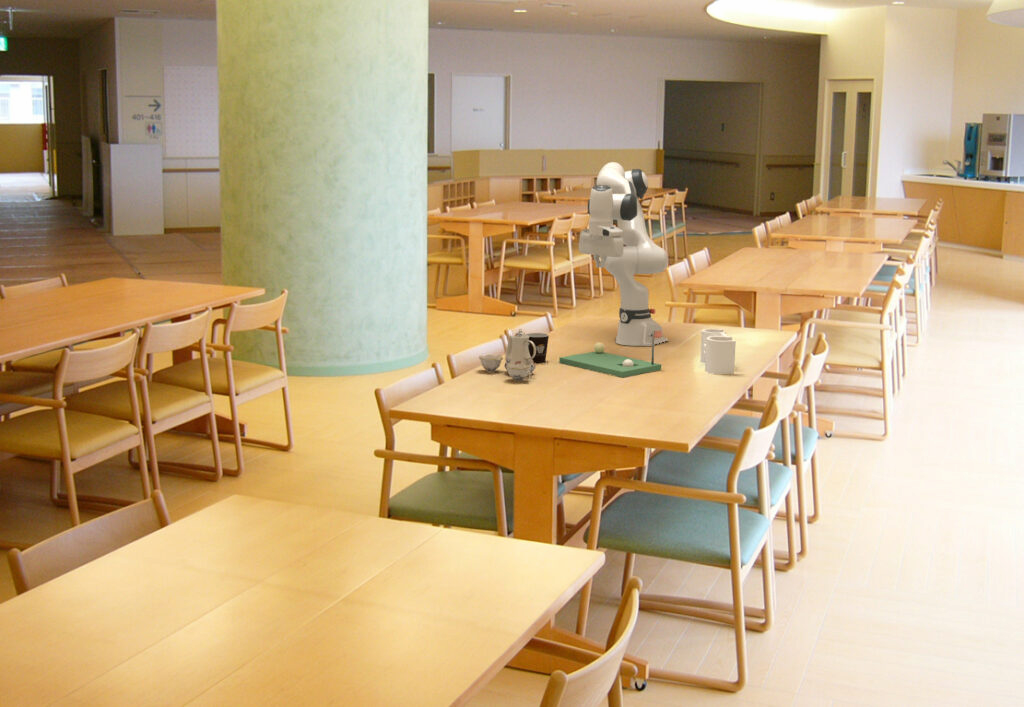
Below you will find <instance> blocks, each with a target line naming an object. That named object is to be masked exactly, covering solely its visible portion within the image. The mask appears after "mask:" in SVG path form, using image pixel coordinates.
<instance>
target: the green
mask: <svg viewBox="0 0 1024 707" xmlns="http://www.w3.org/2000/svg"><path fill="white" fill-rule="evenodd" d="M626 359H630V360H632V361H633V363H634V366H633V367H624V366H622V364H623V362H624V361H625V360H626ZM558 361H559V364H563V365H567V366H571V367H575V368H576V367H577V368H579V367H580V369H585V370H588V369H589V370H588V371H592V370H593V371H594V372H596V371H597V373H601V372H602V374H605V373H607V374H606V375H609V374H611V376H614V375H615V376H614V377H618V376H619V378H626V377H627V376H628V377H632V375H633V376H637V375H643V374H647V372H648V373H653V372H657V370H658V371H662V364H661V363H656V362H654V365H651V361H647V360H642V359H637V358H635V357H634V358H632V357H628V356H623V355H618V354H613V353H609V352H606V351H603V352H602V353H597V352H595V351H589V352H583V353H578V354H572V355H567V356H561V357H559V360H558ZM593 371H592V372H593ZM652 371H653V372H652ZM642 373H643V374H642Z"/></svg>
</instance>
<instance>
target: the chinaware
mask: <svg viewBox="0 0 1024 707" xmlns="http://www.w3.org/2000/svg"><path fill="white" fill-rule="evenodd" d="M507 336H508V337H507V338H508V341H507V345H506V349H505V353H504V356H505V357H503V355H493V354H486V355H480V356H479V357H478V359H479V360H480V363H481V366H482V368H483V369H484V370H486V371H485V372H487V373H495V372H497V371H496V370H498V368H499V367H500V366H501V363H502V360H503V359H505V363H504V369H505V370H506V371H507V372H508V373H507V375H508V376H510V378H511V379H513V382H518V383H520V382H525V381H526V380H529V379H531V376H532V375H533V371H535V369H536V368H537V365H536V363H534V362H533V360H532V358H534V356H535V354H536V347H535V344H534V343H533V342H532V341H529V336H528V335H526V333H525V332H524V331H523V330H522V328H519V329H518V332H516V333H515V334H513V335H512V334H511V333H507ZM528 342H530V343H531V344H532V346H533V349H534V353H533V356H532V357H531V356H530V353H529V349H528V345H529V343H528ZM526 377H527V378H526Z"/></svg>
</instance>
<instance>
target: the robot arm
mask: <svg viewBox="0 0 1024 707" xmlns="http://www.w3.org/2000/svg"><path fill="white" fill-rule="evenodd" d="M648 180H649V179H648V177H647V175H646V172H644V170H642V169H640V168H634V169H632V170H627V171H625V169H624V167H623V165H621V164H620V163H618V162H617V161H616V162H615V161H611V162H608V163H606V164H604V165H603V167H602V168H601V169H600V170H599V173H598V175H597V177H596V184H595V186H592V187H591V190H590V195H589V198H588V199H587V214H588V215H589V219H588V228H583V229H582V230H581V231H580V235H579V241H578V251H579V253H580V254H584V255H593V259H594V262H595V267H596V268H598V269H599V268H600V269H602V268H604V269H605V270H606V271H607V272H608V273H610V275H612V276H613V277H614V279H615V281H617V284H618V286H619V291H620V293H619V294H620V307H619V311H618V313H619V314H618V315H619V316H618V317H619V321H618V327H617V335H616V337H615V343H616V344H618V345H624V346H629V347H630V346H631V347H634V346H635V347H642V346H643V347H652V331H655V332H656V331H662V337H661V338H655V339H654V346H656V345H655V344H657V345H660V344H663V343H662V342H664V343H666V342H665V341H668V342H669V338H668V337H665V336H663V328H662V326H661V324H659V323H658V322H657V321H656V320H655V319H653V318H652V315H655V314H656V309H655V308H649V295H650V293H649V289H648V287H647V286H646V285H645V284H643V283H642V282H640V281H637V280H636V279H635V275H653V274H658V273H659V274H660V273H664V271H665V270H666V268H667V267H668V264H669V256H668V253H667V251H666V250H665V249H664V248H662V247H661V246H659V245H658V244H656V243H655V242H654V241H653V240H652V239H651V238H650V236H649V234H648V231H647V227H646V221H645V215H644V212H643V207H642V205H641V203H640V200H643V199H644V196H645V194H646V193H647V190H648V188H649V181H648ZM639 199H640V200H639ZM615 220H616V221H617V226H616V225H614V221H615ZM651 314H652V315H651ZM659 343H660V344H659Z"/></svg>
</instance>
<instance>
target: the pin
mask: <svg viewBox="0 0 1024 707" xmlns="http://www.w3.org/2000/svg"><path fill="white" fill-rule="evenodd" d="M662 333H663V330H662V331H656V332H655V331H652V346H651V359H650V360H651V361H650V362H651V365H654V363H655V345H654V339H655V338H661V337H662Z"/></svg>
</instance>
